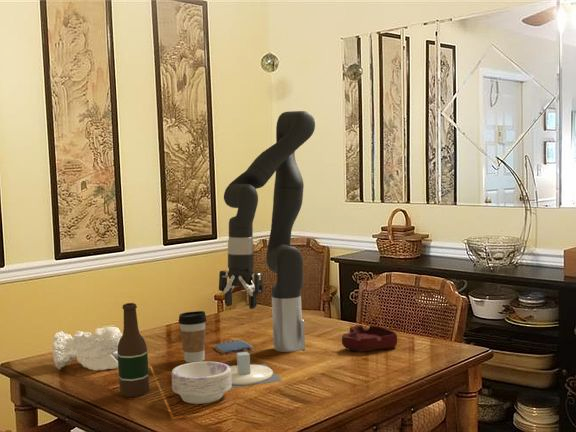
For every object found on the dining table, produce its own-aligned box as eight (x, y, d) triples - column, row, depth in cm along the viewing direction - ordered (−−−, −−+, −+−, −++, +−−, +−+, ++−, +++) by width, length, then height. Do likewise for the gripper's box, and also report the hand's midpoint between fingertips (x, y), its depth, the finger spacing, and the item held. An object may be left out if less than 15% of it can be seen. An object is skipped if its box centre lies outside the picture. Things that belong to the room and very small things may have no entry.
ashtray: (392, 356, 213) (391, 340, 212) (339, 353, 218) (339, 337, 217) (402, 341, 229) (401, 326, 229) (353, 338, 235) (352, 324, 234)
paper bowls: (241, 391, 186) (240, 361, 185) (217, 411, 172) (215, 379, 171) (189, 387, 191) (188, 358, 190) (161, 406, 177) (160, 375, 176)
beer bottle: (122, 388, 192) (116, 301, 189) (151, 387, 192) (146, 300, 190) (117, 398, 184) (112, 307, 182) (147, 396, 184) (142, 306, 182)
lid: (263, 364, 207) (263, 343, 206) (279, 380, 192) (278, 357, 191) (210, 371, 202) (209, 349, 202) (222, 388, 187) (221, 365, 186)
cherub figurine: (63, 327, 222) (126, 318, 221) (70, 365, 222) (132, 357, 222) (48, 336, 208) (115, 327, 208) (55, 377, 209) (122, 368, 209)
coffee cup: (203, 365, 210) (201, 316, 209) (176, 365, 212) (173, 315, 210) (212, 357, 218) (209, 309, 217) (186, 357, 220) (183, 309, 219)
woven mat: (224, 357, 220) (224, 351, 219) (212, 349, 229) (211, 343, 229) (255, 352, 224) (255, 345, 224) (241, 344, 234) (241, 338, 234)
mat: (265, 365, 208) (265, 363, 208) (282, 382, 191) (282, 380, 191) (208, 373, 202) (208, 371, 202) (220, 391, 186) (220, 389, 186)
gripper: (267, 252, 206) (267, 307, 207) (228, 249, 214) (228, 303, 215) (253, 254, 200) (253, 311, 201) (213, 251, 207) (213, 306, 208)
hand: (240, 307), depth 208 cm, fingers open, 8 cm apart
